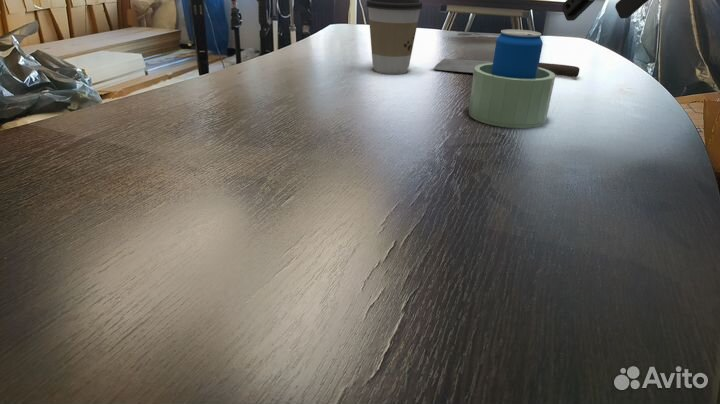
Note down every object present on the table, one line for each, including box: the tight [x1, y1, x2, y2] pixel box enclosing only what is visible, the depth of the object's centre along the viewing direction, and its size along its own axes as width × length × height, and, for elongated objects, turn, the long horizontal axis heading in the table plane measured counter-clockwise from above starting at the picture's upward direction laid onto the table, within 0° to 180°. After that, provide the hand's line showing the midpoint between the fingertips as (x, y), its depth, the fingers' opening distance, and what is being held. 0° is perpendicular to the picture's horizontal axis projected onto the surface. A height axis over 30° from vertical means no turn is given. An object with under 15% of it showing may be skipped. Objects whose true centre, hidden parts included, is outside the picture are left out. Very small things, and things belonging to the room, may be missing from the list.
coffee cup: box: [365, 0, 424, 75], centre depth 101 cm, size 11×11×15 cm
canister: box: [468, 63, 556, 129], centre depth 76 cm, size 12×12×7 cm
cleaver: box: [433, 58, 580, 78], centre depth 105 cm, size 29×10×2 cm, turn 75°
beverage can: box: [491, 28, 544, 79], centre depth 74 cm, size 6×6×12 cm
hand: (593, 13), depth 60 cm, fingers open, 8 cm apart
